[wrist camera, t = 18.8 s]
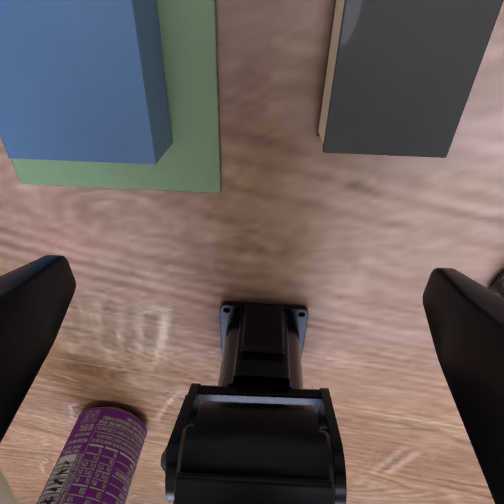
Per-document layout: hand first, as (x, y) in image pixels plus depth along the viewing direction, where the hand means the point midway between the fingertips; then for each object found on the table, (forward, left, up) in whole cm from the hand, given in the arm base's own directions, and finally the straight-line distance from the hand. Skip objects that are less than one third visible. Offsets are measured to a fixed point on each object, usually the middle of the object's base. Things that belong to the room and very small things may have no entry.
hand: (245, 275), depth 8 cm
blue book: (+5, +8, -12) cm, 15 cm away
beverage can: (-30, +14, -12) cm, 36 cm away
